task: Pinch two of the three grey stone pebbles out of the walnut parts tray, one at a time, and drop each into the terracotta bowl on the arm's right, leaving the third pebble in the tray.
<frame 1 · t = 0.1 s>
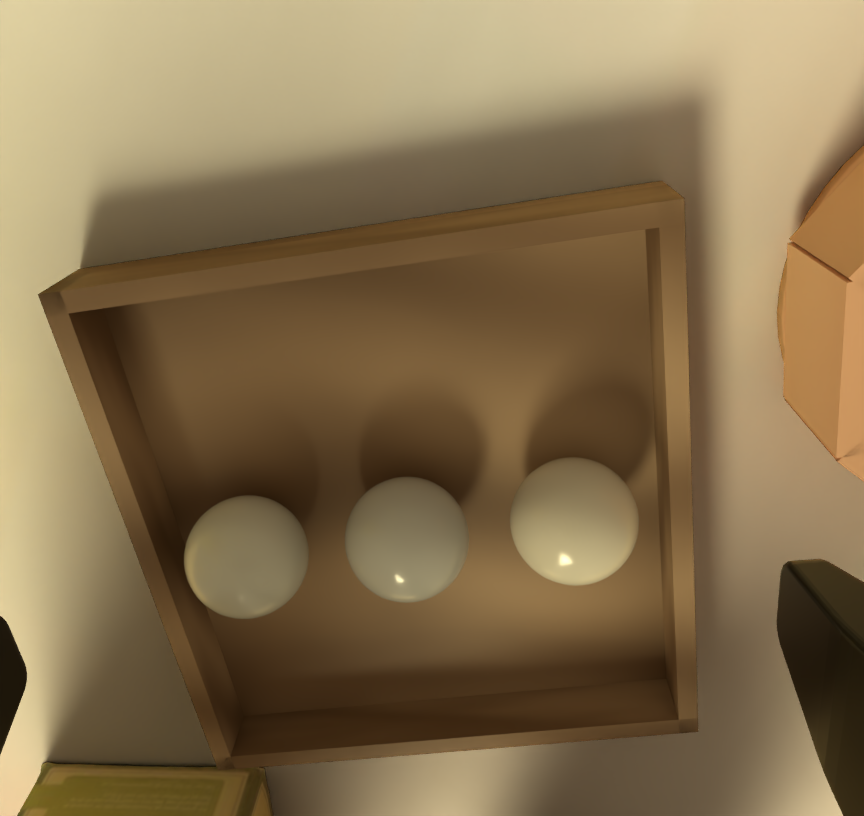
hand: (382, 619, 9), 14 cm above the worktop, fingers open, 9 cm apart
pebble c: (573, 520, 23), point 2 cm above the worktop, touching tray
pebble a: (247, 556, 24), point 2 cm above the worktop, touching tray
tray: (412, 495, 25), on the worktop
pebble b: (407, 538, 23), point 2 cm above the worktop, touching tray
when the fingers open (6 cm above the worktop, at t = 5.4 s): pebble a drops 4 cm, resting on bowl.
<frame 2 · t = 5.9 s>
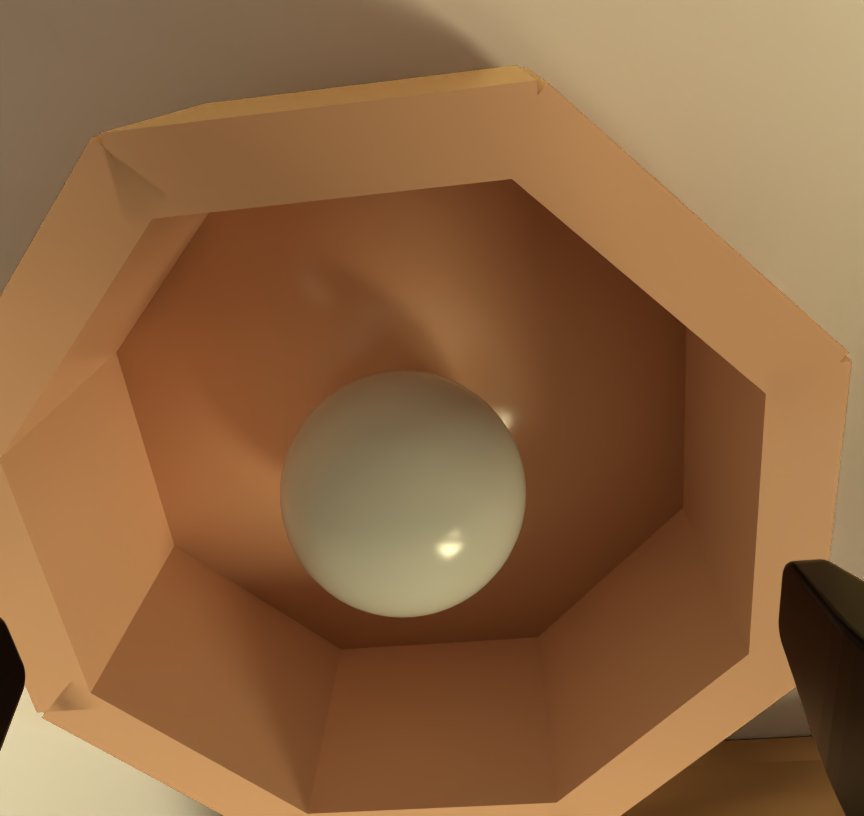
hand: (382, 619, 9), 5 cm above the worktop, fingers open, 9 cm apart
pebble a: (403, 491, 12), point 3 cm above the worktop, touching bowl
bowl: (411, 411, 14), on the worktop
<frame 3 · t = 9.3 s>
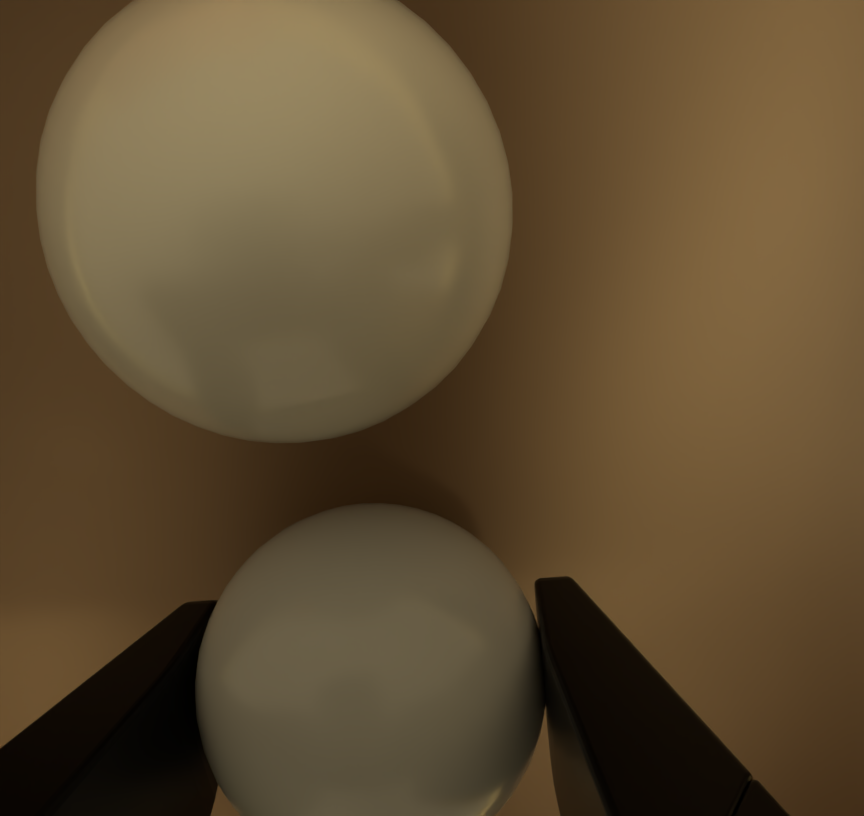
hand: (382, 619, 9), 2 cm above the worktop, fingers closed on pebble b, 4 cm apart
pebble c: (286, 217, 6), point 2 cm above the worktop, touching tray
tray: (392, 543, 11), on the worktop
pebble b: (373, 675, 8), point 2 cm above the worktop, touching gripper, tray
when the fingers open (6 cm above the worktop, at t = 12.2 s): pebble b drops 4 cm and tips over, resting on bowl.
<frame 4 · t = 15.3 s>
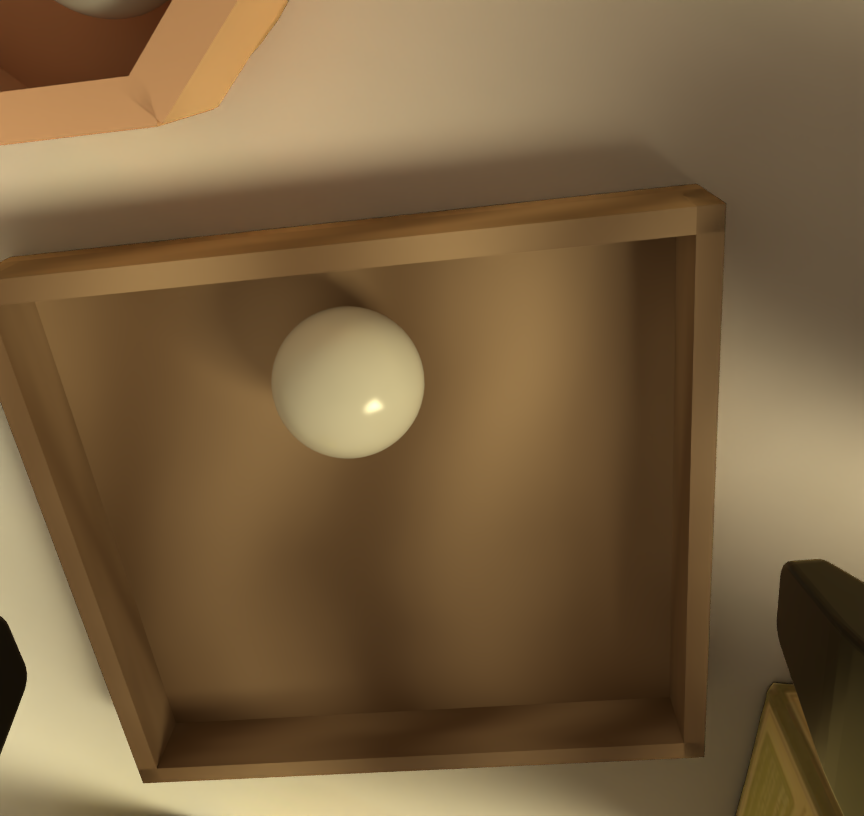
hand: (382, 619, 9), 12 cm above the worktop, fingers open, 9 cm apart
pebble c: (348, 382, 19), point 2 cm above the worktop, touching tray
tray: (386, 501, 23), on the worktop
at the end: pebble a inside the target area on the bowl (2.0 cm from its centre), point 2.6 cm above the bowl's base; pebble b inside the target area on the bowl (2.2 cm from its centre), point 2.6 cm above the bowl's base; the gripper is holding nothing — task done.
